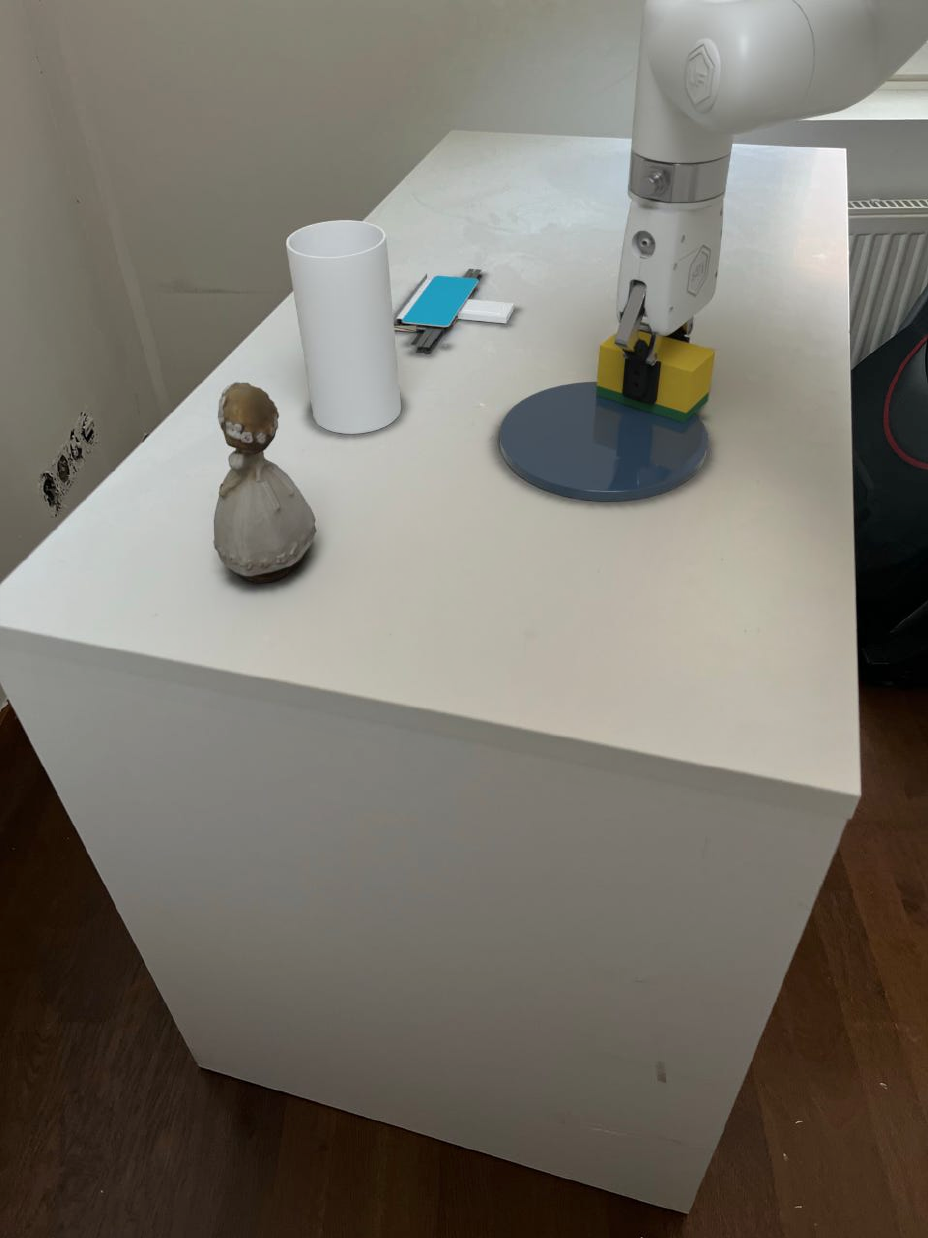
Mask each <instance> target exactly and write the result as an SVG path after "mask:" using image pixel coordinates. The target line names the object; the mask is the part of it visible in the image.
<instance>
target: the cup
mask: <svg viewBox="0 0 928 1238" xmlns="http://www.w3.org/2000/svg"><path fill="white" fill-rule="evenodd" d="M285 243H286V244H285V245H286V247H285V248H286V254H287V260H288V267H289V272H290V273H289V274H290V277H291V278H290V280H291V285H292V292H293V299H294V303H295V310H296V316H297V323H298V328H299V329H298V330H299V334H300V335H299V336H300V341H301V349H302V353H303V354H302V355H303V360H304V366H305V372H306V378H307V384H308V385H307V386H308V391H309V398H310V403H311V404H310V405H311V410H312V416H313V420H314V421H315V423H316V424H317V425H318V426H319V427H321V428H322V429H325V430H327V431H330V432H333V433H337V434H342V435H343V434H344V435H345V434H346V435H358V434H365V433H370V432H375V431H377V430H381V429H383V428H385V427H387V426H389V425H390V424H392V423H393V422H395V420H397V419H398V418H399V416H400V414H401V411H402V402H401V394H400V393H401V391H400V390H401V389H400V379H399V368H398V356H397V345H396V344H397V343H396V333H395V332H396V331H394V321H395V320H394V319H393V318H394V310H393V297H392V288H391V286H392V285H391V275H390V263H389V255H388V254H389V253H388V243H387V236H386V232H385V231H384V229H383V228H381V227H380V226H378V225H376V224H373V223H370V222H366V221H360V220H351V219H350V220H349V219H340V220H339V219H338V220H329V221H322V222H321V221H320V222H317V223H312V224H310V225H306V226H304V227H301V228H299V229H297V230H295V231H294V232H292V233H291V234H289V236H287V238H286V241H285Z"/></svg>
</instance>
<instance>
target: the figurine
mask: <svg viewBox="0 0 928 1238" xmlns="http://www.w3.org/2000/svg"><path fill="white" fill-rule="evenodd" d="M279 417H280V413H279V412H278V408H277V406H276V404H275V402H274V401H273V400H272V399H271V398H270V396H269V394H268V392H266V391H264V390H263V389H262V388H261V387H257V386H254V385H252V384H250V383H249V382H239V381H235V382H232V383H230V384H229V385H227V386H226V387H225V388H224V389H223V391H222V392H221V396H220V398H219V400H218V411H217V419H218V424H219V427H220V429H221V431H222V433H223V435H224V439H225V443H226V444H227V446H228V447H231V448H234V449H235V450H233V451H232V452H231V453H230V454H229V455H228V459H227V460H228V465H229V468H230V469H229V470H228V472H227V474H226V475H225V477H224V479H223V481H222V483H220V485H219V489H218V490H219V491H218V498H217V502H216V506H215V509H214V515H213V547H214V550H215V551H216V552H217V555H218V558H219V559H220V561H221V562H222V563H223V565H224V566H226V567H227V568H229V569H230V570H232V571H233V572H234V573H236V575H237V576H239V577H242V578H245V579H247V580H249V581H251V582H255V583H262V584H263V583H271V582H275V581H278V580H281V578H284V577H285V576H287V575H289V574H290V573H291V572H293V571H294V570H295V569H297V568H298V566H299V565H300V564H301V563H302V559H303V557H304V555H305V554H306V552H307V551H308V549H309V548H310V547H311V543H312V541H313V539H314V538H315V534H316V533H317V531H318V530H317V526H316V517H315V513H314V512H313V509H312V507H311V505H310V504H309V503H308V501H307V500H306V498H305V497H304V494H303V493H302V492H301V490H300V489H299V487H298V486H297V485H296V484H295V482H294V480H293V479H292V478H291V477H290V476H289V475H288V473H287V472H286V471H284V470H283V469H282V468H281V467H279V465H278V464H277V463H274V462H272V461H270V460H268V459H267V458H266V457H265V452H264V451H266V449H267V448H268V447H269V446H270V445H271V443H272V442H273V440H274V439H275V437H276V433H277V430H278V429H279V421H278V420H279Z"/></svg>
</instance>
